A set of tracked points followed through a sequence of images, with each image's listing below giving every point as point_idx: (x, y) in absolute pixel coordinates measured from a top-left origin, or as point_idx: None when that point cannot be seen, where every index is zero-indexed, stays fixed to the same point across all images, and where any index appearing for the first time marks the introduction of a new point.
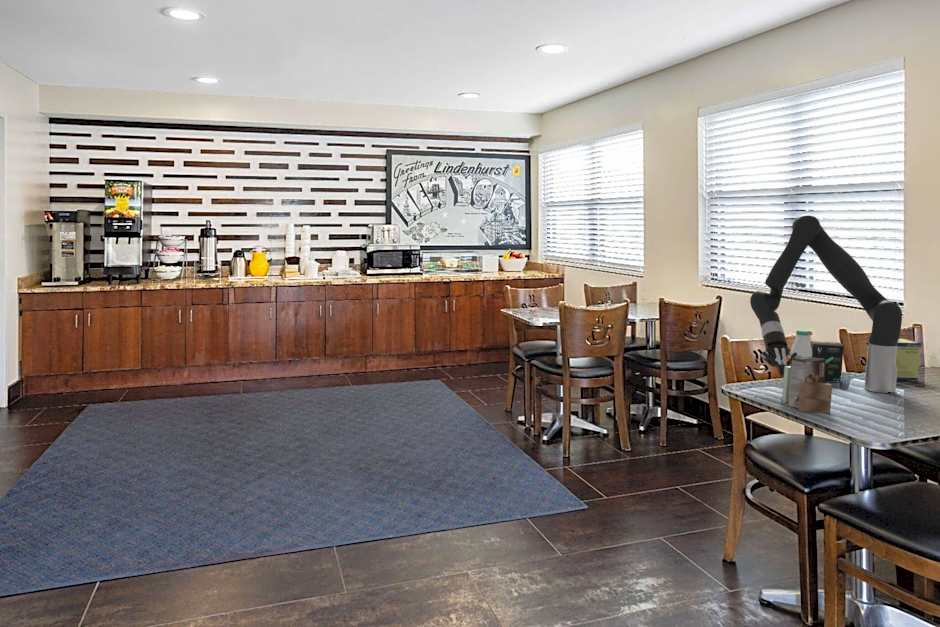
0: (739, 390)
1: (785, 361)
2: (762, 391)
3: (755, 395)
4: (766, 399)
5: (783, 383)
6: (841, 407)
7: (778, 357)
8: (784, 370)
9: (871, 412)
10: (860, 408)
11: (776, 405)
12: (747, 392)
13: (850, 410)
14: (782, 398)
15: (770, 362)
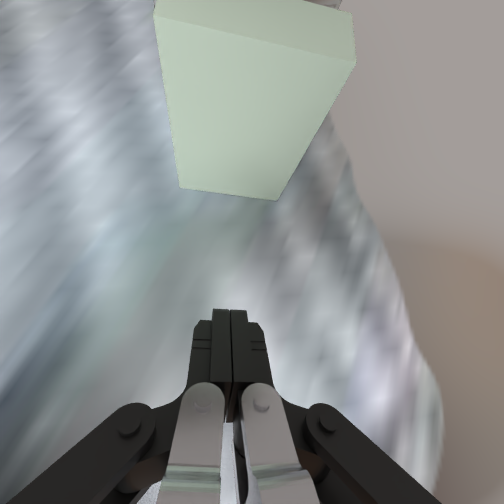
0: (401, 391)
1: (185, 433)
2: (298, 382)
3: (354, 288)
4: (330, 220)
5: (302, 155)
6: (83, 97)
7: (290, 489)
8: (338, 92)
9: (11, 30)
10: (5, 78)
11: (324, 138)
12: (374, 348)
13: (80, 60)
14: (279, 194)
15: (341, 496)
